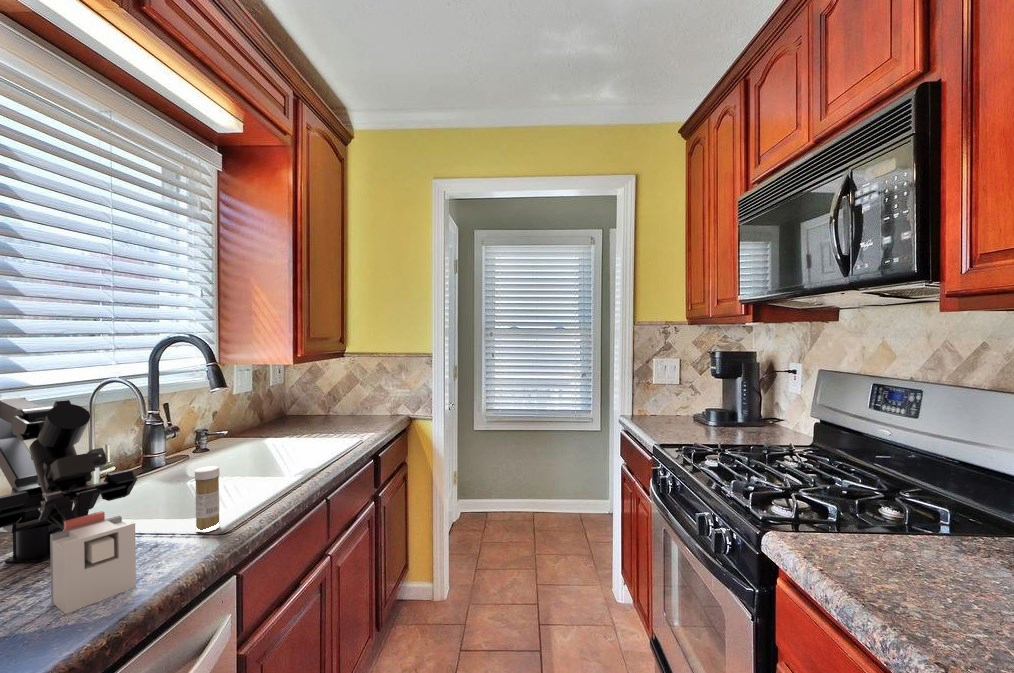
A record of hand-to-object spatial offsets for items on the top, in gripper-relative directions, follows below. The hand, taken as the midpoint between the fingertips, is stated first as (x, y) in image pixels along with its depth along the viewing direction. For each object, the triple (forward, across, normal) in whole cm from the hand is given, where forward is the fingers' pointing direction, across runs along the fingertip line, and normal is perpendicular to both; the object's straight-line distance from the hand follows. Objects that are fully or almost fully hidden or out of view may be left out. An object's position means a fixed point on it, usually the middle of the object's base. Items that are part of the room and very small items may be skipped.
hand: (81, 538), depth 80 cm
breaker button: (+5, 0, -2) cm, 6 cm away
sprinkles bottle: (+2, +23, +10) cm, 25 cm away
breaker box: (+10, 0, +2) cm, 10 cm away
